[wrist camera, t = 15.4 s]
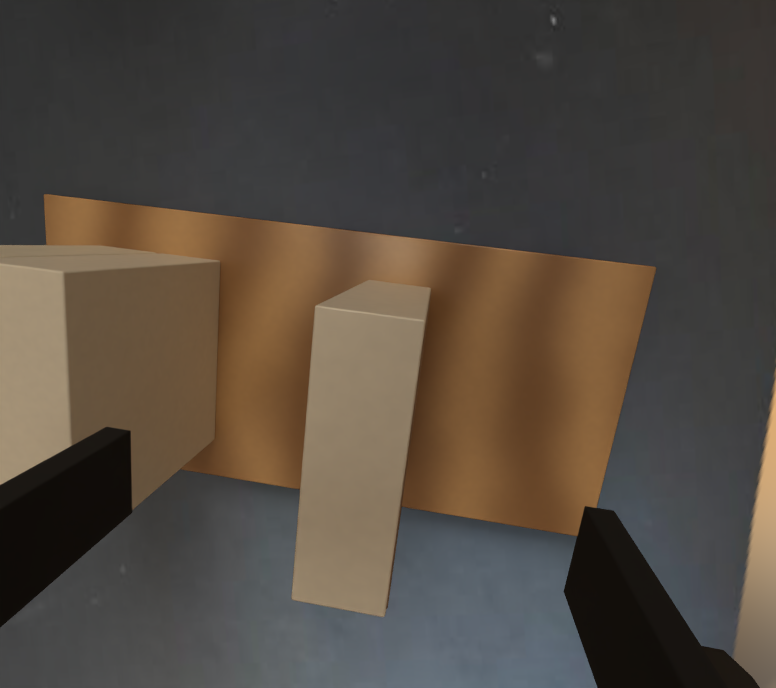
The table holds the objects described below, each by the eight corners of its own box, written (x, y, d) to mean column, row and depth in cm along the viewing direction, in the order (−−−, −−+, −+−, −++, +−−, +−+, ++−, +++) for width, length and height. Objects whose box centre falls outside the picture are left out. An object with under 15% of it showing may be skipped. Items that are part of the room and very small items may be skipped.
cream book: (432, 287, 24) (427, 320, 14) (406, 470, 27) (386, 618, 16) (368, 279, 25) (314, 305, 14) (348, 461, 27) (290, 600, 16)
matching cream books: (220, 260, 25) (62, 271, 15) (215, 439, 28) (76, 559, 17) (100, 245, 26) (-137, 244, 15) (105, 421, 28) (-96, 527, 18)
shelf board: (646, 266, 24) (657, 267, 23) (583, 526, 28) (589, 539, 26) (60, 196, 27) (42, 193, 26) (71, 441, 30) (56, 449, 29)
